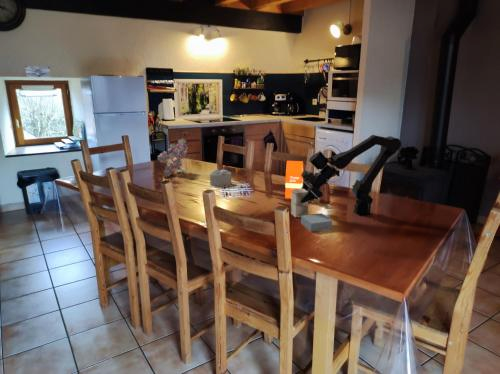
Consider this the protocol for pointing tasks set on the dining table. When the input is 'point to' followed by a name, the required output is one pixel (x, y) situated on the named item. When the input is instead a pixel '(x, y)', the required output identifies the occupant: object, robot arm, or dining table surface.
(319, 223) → the slate plinth
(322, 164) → the robot arm
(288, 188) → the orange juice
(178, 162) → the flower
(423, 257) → the dining table surface
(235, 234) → the dining table surface
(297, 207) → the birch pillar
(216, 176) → the lumpy-topped squat cylinder
